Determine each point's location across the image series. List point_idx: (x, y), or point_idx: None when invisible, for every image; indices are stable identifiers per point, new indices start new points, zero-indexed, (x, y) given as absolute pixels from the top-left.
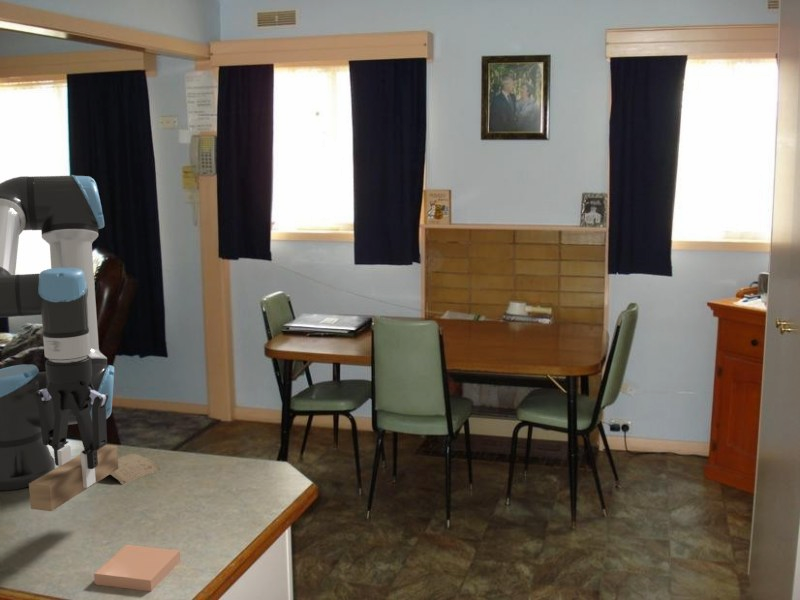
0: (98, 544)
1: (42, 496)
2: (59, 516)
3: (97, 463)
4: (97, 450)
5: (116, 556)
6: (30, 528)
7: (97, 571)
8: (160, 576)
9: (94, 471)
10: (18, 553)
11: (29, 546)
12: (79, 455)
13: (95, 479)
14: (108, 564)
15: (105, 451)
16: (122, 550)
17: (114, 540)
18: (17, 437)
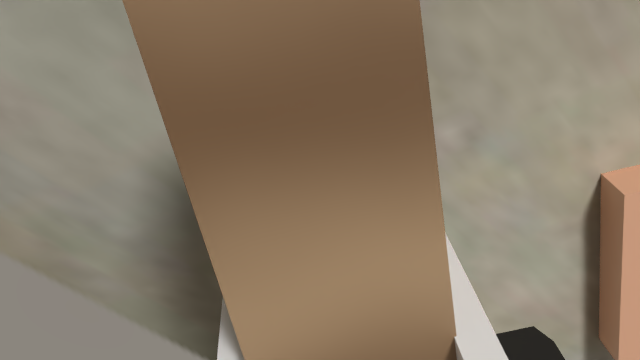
0: (441, 164)
1: None
2: (50, 47)
3: (556, 350)
4: (280, 94)
5: (634, 271)
6: (56, 192)
7: (622, 353)
8: None
9: (466, 279)
10: (215, 328)
11: (203, 285)
12: (226, 283)
13: (446, 235)
14: (634, 314)
15: (395, 75)
16: (632, 232)
17: (482, 111)
18: None
